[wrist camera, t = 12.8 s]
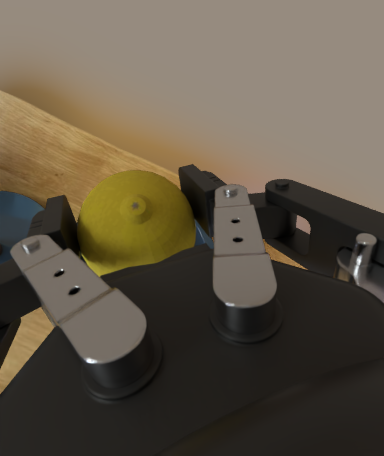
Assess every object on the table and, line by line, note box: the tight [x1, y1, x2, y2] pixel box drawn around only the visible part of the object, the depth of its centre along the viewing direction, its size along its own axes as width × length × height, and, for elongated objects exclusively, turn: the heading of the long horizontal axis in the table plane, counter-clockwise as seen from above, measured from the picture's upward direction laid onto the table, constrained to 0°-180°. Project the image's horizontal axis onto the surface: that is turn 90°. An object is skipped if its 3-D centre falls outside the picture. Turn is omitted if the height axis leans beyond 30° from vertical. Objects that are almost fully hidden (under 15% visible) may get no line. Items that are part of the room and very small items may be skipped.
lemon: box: [77, 170, 196, 277], centre depth 14 cm, size 6×6×8 cm
